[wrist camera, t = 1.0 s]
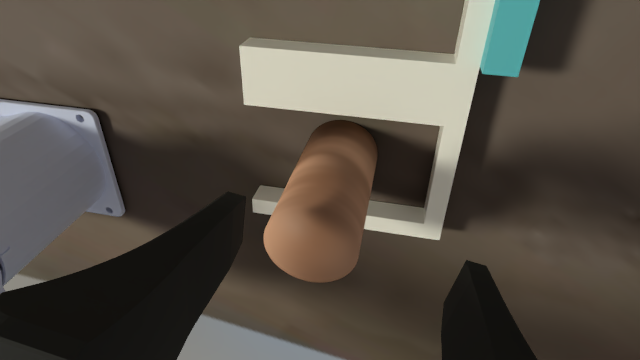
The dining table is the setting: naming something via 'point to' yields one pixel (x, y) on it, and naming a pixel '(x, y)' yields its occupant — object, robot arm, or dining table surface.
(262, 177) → the dining table surface
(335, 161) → the peg
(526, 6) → the slot rack
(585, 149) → the dining table surface
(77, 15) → the dining table surface
